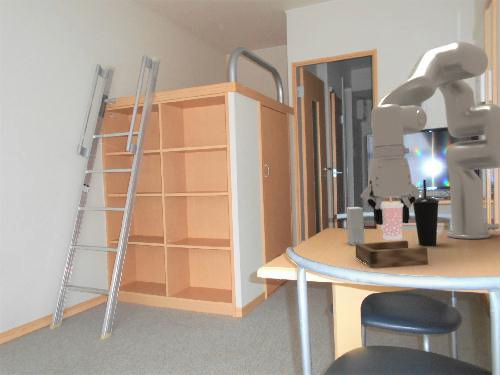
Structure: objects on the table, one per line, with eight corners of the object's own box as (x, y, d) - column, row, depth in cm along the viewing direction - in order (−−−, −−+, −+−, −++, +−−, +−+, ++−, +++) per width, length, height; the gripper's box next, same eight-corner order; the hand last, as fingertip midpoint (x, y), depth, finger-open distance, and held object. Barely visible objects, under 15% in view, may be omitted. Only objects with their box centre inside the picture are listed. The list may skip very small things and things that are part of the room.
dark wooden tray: (406, 255, 108) (405, 240, 108) (428, 264, 96) (427, 247, 96) (356, 258, 107) (355, 243, 107) (371, 268, 95) (370, 251, 95)
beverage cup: (383, 236, 106) (380, 184, 105) (407, 237, 102) (404, 183, 102) (377, 240, 100) (374, 185, 100) (403, 240, 97) (400, 184, 97)
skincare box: (365, 245, 126) (363, 207, 126) (351, 245, 127) (349, 208, 126) (360, 242, 133) (358, 206, 132) (347, 242, 133) (345, 207, 132)
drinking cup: (412, 246, 119) (409, 180, 118) (415, 242, 126) (412, 180, 125) (440, 247, 115) (437, 179, 115) (441, 243, 122) (438, 178, 122)
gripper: (414, 153, 105) (417, 220, 106) (351, 156, 104) (354, 224, 105) (428, 150, 98) (431, 223, 98) (360, 154, 97) (363, 227, 97)
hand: (391, 222), depth 101 cm, fingers closed on beverage cup, 6 cm apart
